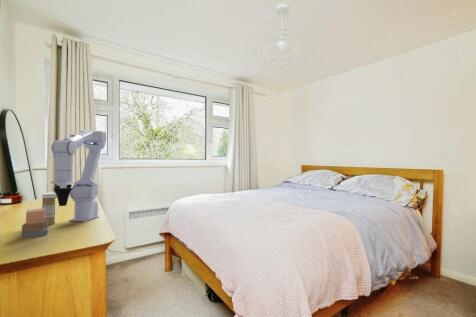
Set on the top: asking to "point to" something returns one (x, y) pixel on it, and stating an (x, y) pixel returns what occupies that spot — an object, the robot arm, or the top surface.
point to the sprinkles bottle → (49, 207)
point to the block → (35, 216)
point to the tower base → (35, 233)
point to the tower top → (34, 227)
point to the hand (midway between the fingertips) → (62, 204)
